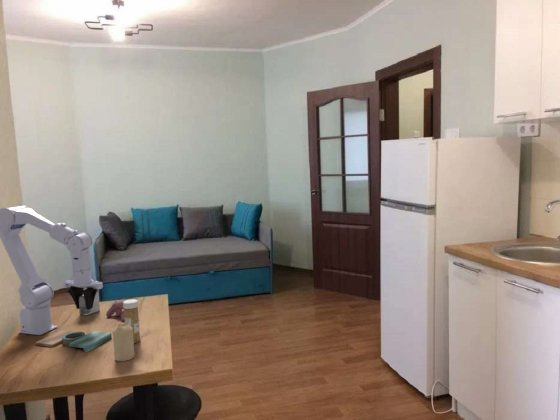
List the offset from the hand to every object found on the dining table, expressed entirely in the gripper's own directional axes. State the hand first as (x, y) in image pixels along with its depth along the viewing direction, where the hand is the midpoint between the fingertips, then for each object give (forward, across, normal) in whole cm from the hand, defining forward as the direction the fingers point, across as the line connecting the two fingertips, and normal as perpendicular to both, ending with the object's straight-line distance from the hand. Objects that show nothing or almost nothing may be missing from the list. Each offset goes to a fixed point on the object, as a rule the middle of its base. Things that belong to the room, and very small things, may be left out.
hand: (84, 308), depth 156 cm
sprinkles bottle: (+9, -21, +3) cm, 23 cm away
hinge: (+8, -2, +8) cm, 12 cm away
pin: (+2, 0, 0) cm, 2 cm away
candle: (+9, -26, +14) cm, 31 cm away
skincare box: (+9, +13, -17) cm, 23 cm away
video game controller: (+9, -2, -16) cm, 18 cm away
